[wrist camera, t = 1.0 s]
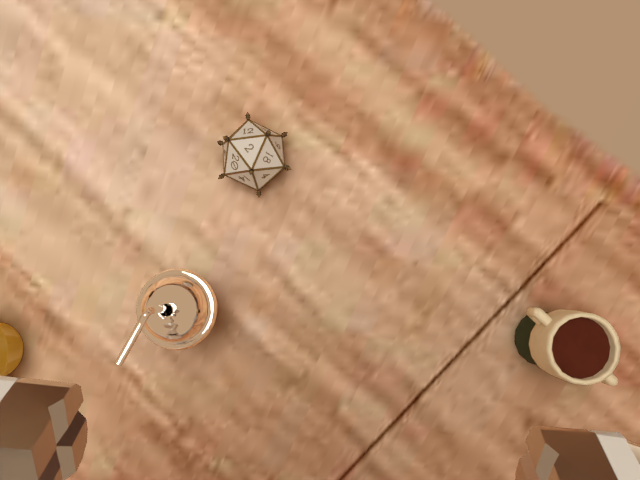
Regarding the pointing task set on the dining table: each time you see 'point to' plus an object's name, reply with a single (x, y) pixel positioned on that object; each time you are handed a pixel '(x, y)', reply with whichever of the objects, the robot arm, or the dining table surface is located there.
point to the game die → (253, 155)
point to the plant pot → (9, 349)
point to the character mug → (570, 345)
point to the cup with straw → (173, 311)
